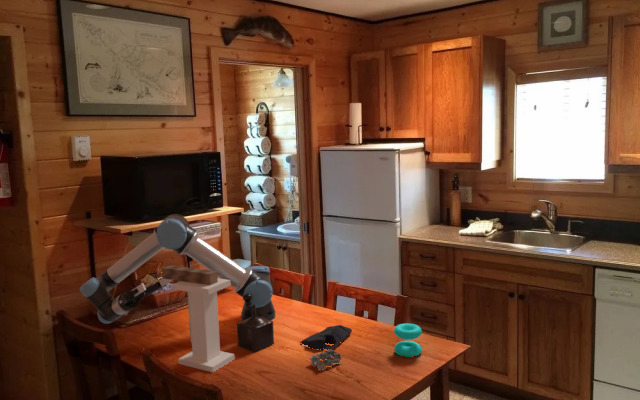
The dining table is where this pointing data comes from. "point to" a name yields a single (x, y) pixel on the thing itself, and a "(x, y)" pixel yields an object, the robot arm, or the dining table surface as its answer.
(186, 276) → the walnut bar
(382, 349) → the dining table surface
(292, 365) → the dining table surface
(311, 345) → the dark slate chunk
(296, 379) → the dining table surface
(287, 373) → the dining table surface
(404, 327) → the donuts
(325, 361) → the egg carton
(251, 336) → the pepper mill
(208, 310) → the pedestal stand
